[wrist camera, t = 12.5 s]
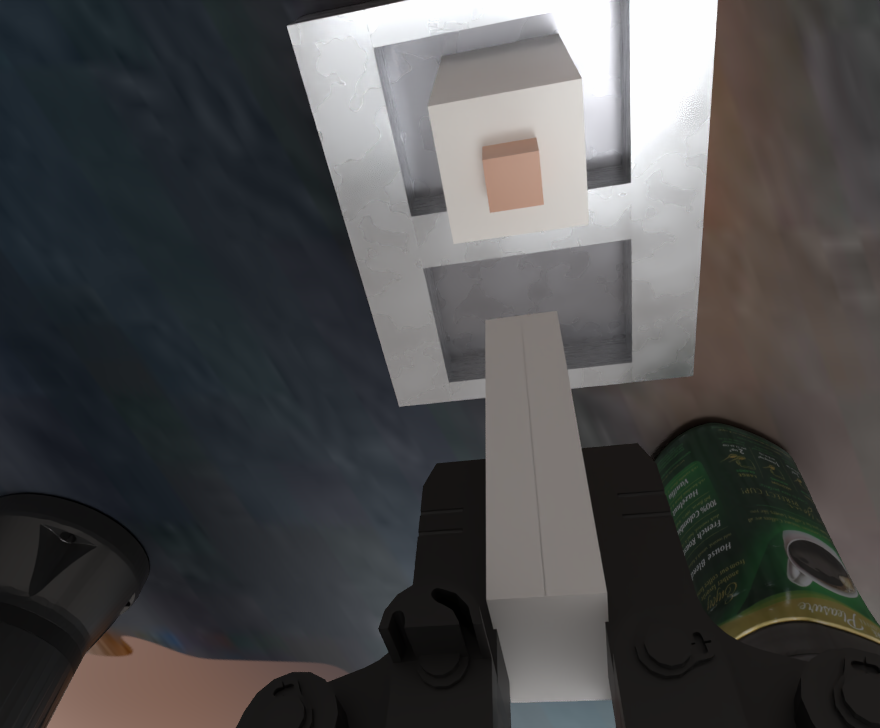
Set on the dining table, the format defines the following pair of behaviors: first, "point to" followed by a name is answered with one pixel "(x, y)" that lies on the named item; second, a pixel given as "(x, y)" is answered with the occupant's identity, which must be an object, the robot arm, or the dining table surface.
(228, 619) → the dining table surface
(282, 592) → the dining table surface
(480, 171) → the white rectangular block
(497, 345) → the robot arm
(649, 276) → the socket plate
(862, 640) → the coffee jar
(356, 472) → the dining table surface
